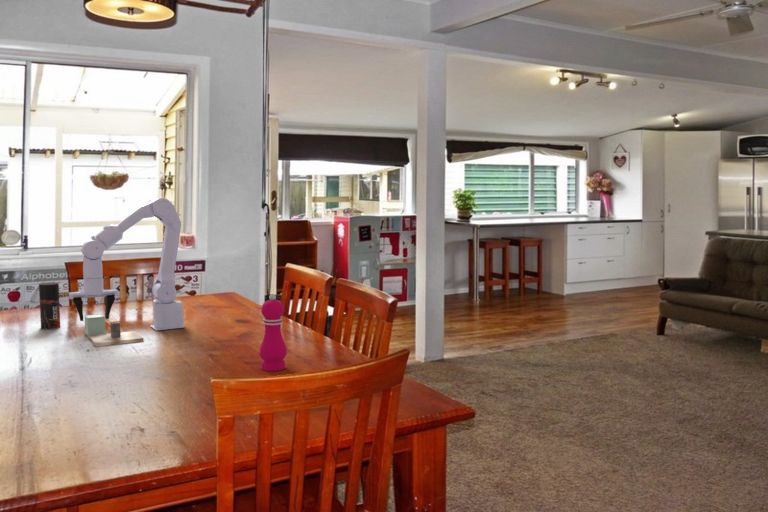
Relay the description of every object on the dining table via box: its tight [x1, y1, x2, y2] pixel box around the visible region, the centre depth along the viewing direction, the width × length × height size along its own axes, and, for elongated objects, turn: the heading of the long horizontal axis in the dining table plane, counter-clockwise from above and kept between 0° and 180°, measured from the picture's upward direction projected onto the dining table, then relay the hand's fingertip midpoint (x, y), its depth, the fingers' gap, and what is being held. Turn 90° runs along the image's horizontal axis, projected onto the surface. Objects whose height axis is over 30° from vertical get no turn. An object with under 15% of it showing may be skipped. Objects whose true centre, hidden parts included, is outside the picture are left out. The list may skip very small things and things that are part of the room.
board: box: [87, 321, 144, 347], centre depth 213 cm, size 14×12×6 cm
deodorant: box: [38, 282, 61, 330], centre depth 230 cm, size 6×6×15 cm
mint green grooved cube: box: [84, 313, 106, 337], centre depth 221 cm, size 5×5×6 cm
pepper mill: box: [258, 293, 288, 372], centre depth 180 cm, size 7×7×20 cm
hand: (94, 319), depth 220 cm, fingers open, 7 cm apart
